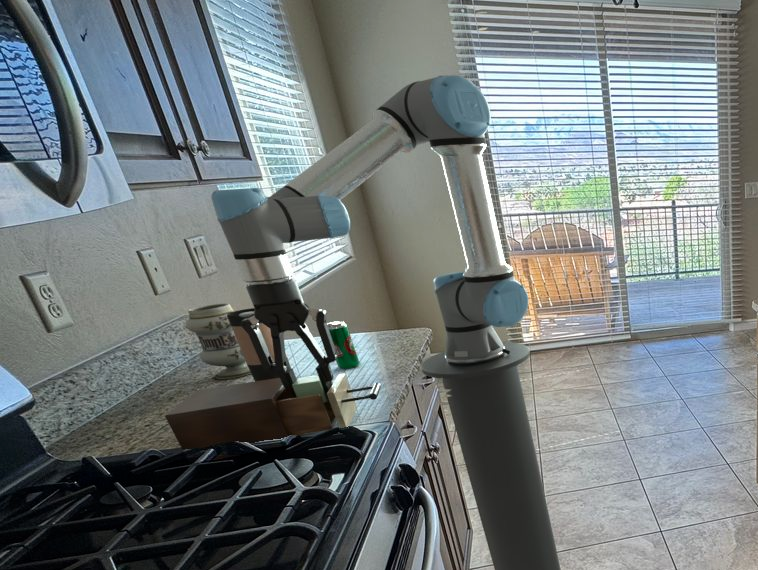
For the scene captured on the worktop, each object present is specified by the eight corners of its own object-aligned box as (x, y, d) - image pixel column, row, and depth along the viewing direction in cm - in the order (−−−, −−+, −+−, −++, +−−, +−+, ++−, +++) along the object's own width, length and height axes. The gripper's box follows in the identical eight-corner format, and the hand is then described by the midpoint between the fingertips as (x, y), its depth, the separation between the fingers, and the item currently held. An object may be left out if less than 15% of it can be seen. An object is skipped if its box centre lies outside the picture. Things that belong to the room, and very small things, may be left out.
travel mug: (282, 388, 139) (249, 307, 130) (308, 388, 137) (276, 307, 128) (253, 399, 132) (216, 315, 123) (280, 401, 130) (244, 315, 122)
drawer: (389, 402, 123) (378, 368, 120) (382, 423, 113) (370, 386, 109) (277, 421, 116) (262, 385, 113) (259, 445, 106) (241, 407, 103)
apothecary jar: (230, 367, 157) (202, 303, 149) (275, 364, 158) (249, 299, 150) (198, 382, 146) (165, 313, 138) (246, 378, 147) (217, 310, 139)
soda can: (335, 368, 151) (319, 324, 146) (355, 362, 155) (340, 319, 150) (344, 371, 149) (328, 326, 144) (363, 365, 152) (349, 321, 147)
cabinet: (308, 419, 119) (290, 376, 115) (291, 445, 107) (271, 398, 103) (217, 435, 114) (195, 390, 110) (189, 464, 102) (164, 415, 98)
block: (331, 394, 115) (323, 374, 113) (327, 402, 111) (319, 380, 109) (305, 398, 113) (297, 377, 112) (300, 406, 110) (291, 384, 108)
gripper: (329, 272, 108) (368, 385, 118) (219, 283, 102) (269, 401, 112) (321, 278, 102) (362, 397, 112) (203, 290, 96) (257, 414, 106)
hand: (315, 399), depth 112 cm, fingers closed on block, 4 cm apart
